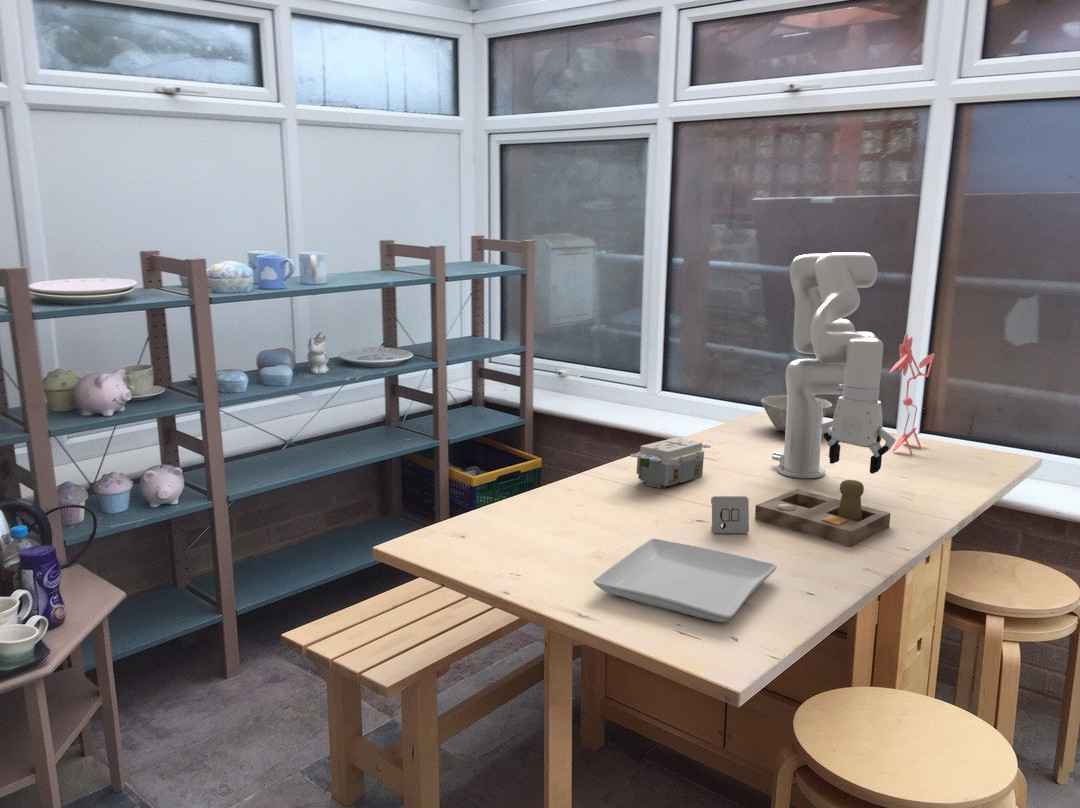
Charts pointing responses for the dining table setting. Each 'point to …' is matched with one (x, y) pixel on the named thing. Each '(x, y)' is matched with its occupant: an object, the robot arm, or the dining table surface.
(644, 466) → the electrical outlet
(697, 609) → the square plate
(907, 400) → the figurine
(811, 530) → the socket board
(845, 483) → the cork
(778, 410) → the ceramic bowl
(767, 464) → the dining table surface
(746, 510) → the electrical switch
